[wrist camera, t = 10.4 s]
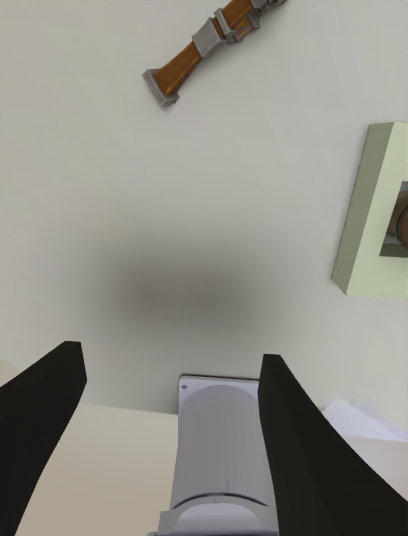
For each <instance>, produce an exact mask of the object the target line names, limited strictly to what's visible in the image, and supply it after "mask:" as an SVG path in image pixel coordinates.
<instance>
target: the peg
mask: <svg viewBox="0 0 408 536" xmlns="http://www.w3.org/2000/svg"><path fill="white" fill-rule="evenodd" d="M387 231H388V232H390V233H392V234H394V235H396V236H397V238H398V240H399V242H400V243H401V245H403V246H404V247H405V248H407V249H408V191H404V192H400V193H398V196H397V200H396V203H395V206H394V209H393V212H392V215H391V219H390V222H389V225H388V228H387Z"/></svg>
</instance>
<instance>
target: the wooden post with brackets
mask: <svg viewBox="0 0 408 536" xmlns="http://www.w3.org/2000/svg"><path fill="white" fill-rule="evenodd" d="M285 1H286V0H273V2H272V3H269V0H232V1H231V2H230V3H229V4H228V5H227V6H226V7H225V8H224V9H222V8H218V9H217V11H215V12H214V14H215V16H216V17H215V18H210V17H209V18H208V20H207V21H206V23H205V24H204V25H203V26H202V28H201V29H200V30H199V31H198V32H197V33H196V34H194V35H193V36H192V39H193V41H192V42H191V43H190V44H189V45H188V46H187V47H186V48H185V49H184V50H183V51H182V52H181V53H179V54H178V55H177V56H176V57H175V58H173V59H172V60H171V61H170V62H169V63H167V64H166V65H165V66H164V67H163V68H161V69H150V70H146V72H145V73H143V74H142V76H143V78H144V79H145V81H146V83H147V84H148V86H149V88H150V89H151V91H152V93H153V94H154V96H155V98H156V99H157V101H158V103H159V104H160V106H161V107H162V106H166V105H169V104H172V103H175V102H176V100H177V99H178V98H180V97H179V95H178V94H177V90H178V89H179V87H180V86H181V84H182V83H183V82H184V80H185V79H186V78H187V77H188V75H189V74H190V73H191V72H192V70H193V69H194V68H195V67H196V65H197V64H198V63H199V62H200V61H201V60H202V59H203V58H204V57H210V55H211V54H212V53H213V52H214V51H215V50H216V49H217V48H218V47H219V46H220V45H221V44H222V43H224V42H226V41H227V42H228V43H234V42H235V40H236V41H242V40H243V38H244V37H245V36H246V35H247V34H248V33H249V32H250V31H251V30H252V29H253V28H254V27H255V28H260V24H259V16H261V13H263V14H266V6H271V5H273V4H274V3H275V4H277V5H279V4H283V3H284V2H285Z"/></svg>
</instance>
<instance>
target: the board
mask: <svg viewBox="0 0 408 536" xmlns="http://www.w3.org/2000/svg"><path fill="white" fill-rule="evenodd" d="M402 181H408V123H403V122H391V123H382V124H374V125H370V128H369V132H368V136H367V140H366V144H365V148H364V152H363V155H362V159H361V163H360V167H359V171H358V175H357V179H356V183H355V187H354V191H353V195H352V199H351V203H350V207H349V211H348V215H347V219H346V223H345V227H344V231H343V235H342V239H341V243H340V247H339V251H338V255H337V259H336V263H335V267H334V271H333V275H332V280H333V281H334V282H335V283H336V284H337V286H338V287H339V288H340V289H341V290H342V292H343V293H344V294H345V295H347V296H363V297H379V298H395V299H408V249H407V248H405V247H404V246H403V245H386V244H383V241H384V238H385V235H386V231H387V228H388V225H389V222H390V219H391V215H392V212H393V209H394V206H395V203H396V200H397V196H398V193H399V190H400V187H401V184H402Z"/></svg>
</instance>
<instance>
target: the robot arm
mask: <svg viewBox="0 0 408 536" xmlns="http://www.w3.org/2000/svg"><path fill="white" fill-rule="evenodd" d="M86 383H87V376H86V370H85V364H84V359H83V353H82V347H81V342H75V341H64V342H63V343H62V344H60V345H59V346H57V347H56V348H55V349H53V350H52V351H50V352H49V353H48V354H46V355H45V356H44V357H42V358H41V359H40V360H38V361H37V362H36V363H34V364H33V365H31V366H30V367H29V368H27V369H26V370H24V371H23V372H22V373H20V374H19V375H18V376H16V377H15V378H13V379H12V380H10V381H9V382H7V383H6V384H4V385H3V386H1V387H0V536H15V534H16V531H17V528H18V526H19V524H20V521H21V518H22V516H23V514H24V512H25V509H26V507H27V504H28V502H29V500H30V498H31V495H32V493H33V491H34V489H35V486H36V484H37V482H38V480H39V477H40V476H41V473H42V472H43V469H44V467H45V465H46V464H47V462H48V460H49V458H50V456H51V454H52V452H53V450H54V449H55V447H56V445H57V443H58V441H59V440H60V437H61V436H62V434H63V432H64V430H65V428H66V427H67V425H68V423H69V421H70V419H71V417H72V415H73V413H74V411H75V409H76V408H77V406H78V403H79V401H80V398H81V396H82V393H83V391H84V388H85V385H86ZM183 385H186V386H183ZM146 536H408V501H406V500H405V499H404V498H403V497H402V496H401V495H400V494H399V493H397V492H396V491H395V490H394V489H393V488H392V487H391V486H390V485H389V484H388V483H386V482H385V480H384V479H382V478H381V477H380V476H379V475H378V474H377V473H376V472H375V471H374V470H373V469H372V468H371V467H370V466H369V465H368V464H367V463H366V462H364V460H362V458H361V457H360V456H359V455H358V454H357V453H356V452H355V451H354V450H353V449H352V448H351V447H350V446H349V445H348V444H347V443H346V441H345V440H344V439H343V438H342V437H341V436H340V435H339V434H338V432H337V431H336V430H335V429H334V428H333V427H332V425H331V424H330V423H329V422H328V421H327V419H326V418H325V417H324V416H323V414H322V413H321V412H320V411H319V409H318V408H317V407H316V406H315V404H314V403H313V402H312V400H311V399H310V398H309V396H308V395H307V394H306V392H305V391H304V390H303V388H302V387H301V385H300V384H299V382H298V381H297V380H296V378H295V377H294V375H293V374H292V372H291V371H290V369H289V368H288V366H287V365H286V363H285V361H284V360H283V358H282V357H281V356H280V355H275V354H264V355H263V361H262V367H261V373H260V379H259V381H254V380H240V379H225V378H211V377H197V376H181V377H180V379H179V416H178V451H177V458H176V465H175V473H174V480H173V487H172V495H171V502H170V509H169V510H168V511H162V512H161V514H160V520H159V526H158V532H151V533H149V534H147V535H146Z"/></svg>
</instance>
